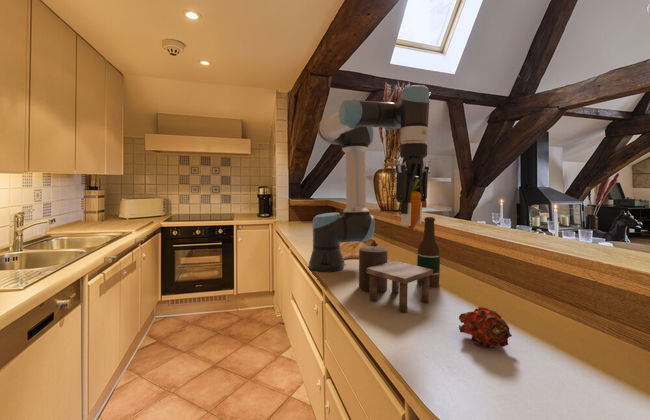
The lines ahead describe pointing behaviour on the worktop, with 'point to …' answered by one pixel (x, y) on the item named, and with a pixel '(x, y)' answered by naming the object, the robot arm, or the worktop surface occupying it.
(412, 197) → the carrot
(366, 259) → the pillar candle
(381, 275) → the walnut stool
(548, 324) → the worktop surface
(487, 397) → the worktop surface
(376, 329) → the worktop surface
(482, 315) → the dragon fruit
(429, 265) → the beer bottle
